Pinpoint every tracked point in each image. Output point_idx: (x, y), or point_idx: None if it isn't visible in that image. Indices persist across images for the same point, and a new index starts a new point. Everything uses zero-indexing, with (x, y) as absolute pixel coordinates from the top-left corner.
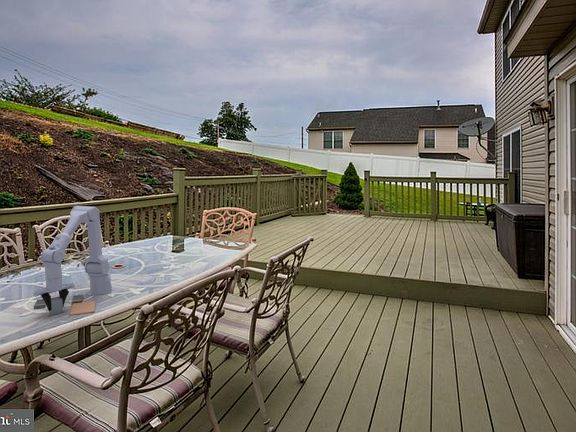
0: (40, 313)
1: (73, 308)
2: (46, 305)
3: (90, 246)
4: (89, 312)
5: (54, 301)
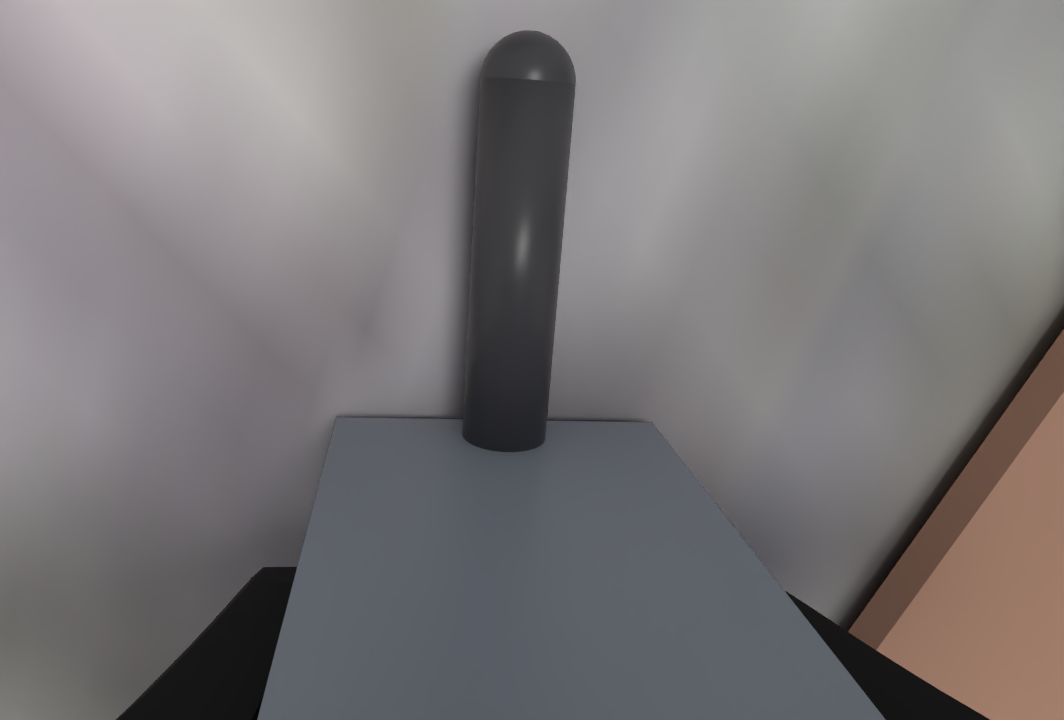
0: (117, 228)
1: None
2: (174, 673)
3: None
4: None
5: None
